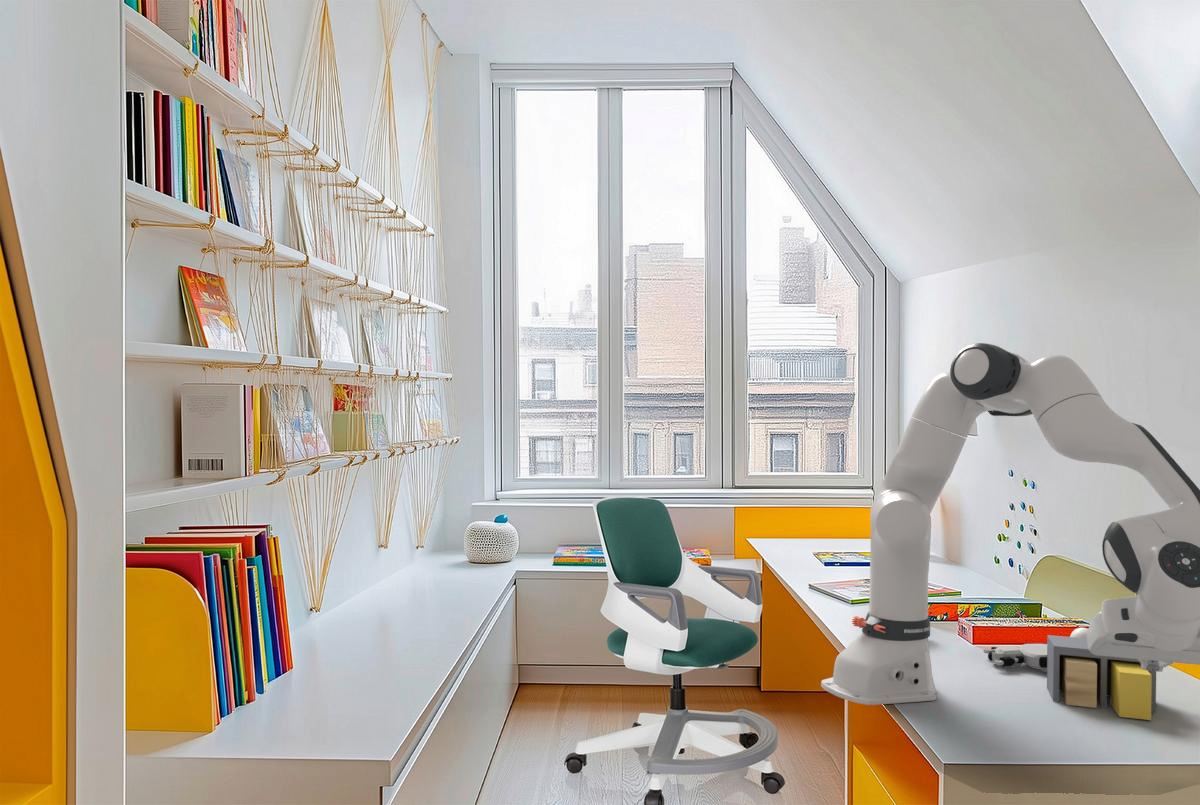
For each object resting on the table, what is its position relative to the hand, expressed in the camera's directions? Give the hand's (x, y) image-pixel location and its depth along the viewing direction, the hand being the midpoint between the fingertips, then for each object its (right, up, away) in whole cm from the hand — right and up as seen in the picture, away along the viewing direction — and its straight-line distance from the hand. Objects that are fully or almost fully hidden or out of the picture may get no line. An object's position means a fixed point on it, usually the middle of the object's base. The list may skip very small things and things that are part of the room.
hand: (1150, 667), depth 152 cm
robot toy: (-1, -13, +44) cm, 45 cm away
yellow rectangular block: (+5, -12, +14) cm, 20 cm away
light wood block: (-1, -12, +21) cm, 24 cm away
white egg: (+20, -13, +57) cm, 61 cm away
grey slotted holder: (+3, -13, +21) cm, 25 cm away
